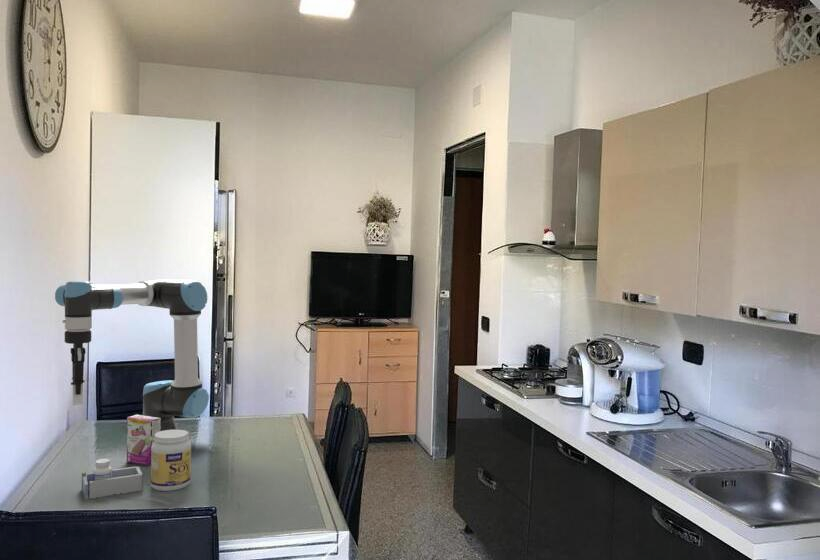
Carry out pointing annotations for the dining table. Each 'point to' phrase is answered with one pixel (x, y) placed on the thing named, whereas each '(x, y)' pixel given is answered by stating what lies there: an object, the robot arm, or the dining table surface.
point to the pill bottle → (102, 470)
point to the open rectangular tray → (116, 482)
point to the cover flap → (84, 485)
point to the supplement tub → (170, 460)
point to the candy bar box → (141, 438)
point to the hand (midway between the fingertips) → (77, 404)
